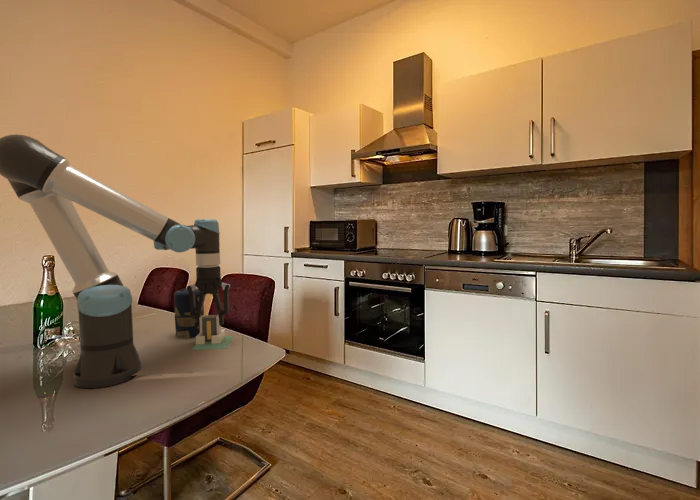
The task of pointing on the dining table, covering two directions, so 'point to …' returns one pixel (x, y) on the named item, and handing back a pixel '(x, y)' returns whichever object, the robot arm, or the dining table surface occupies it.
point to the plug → (209, 327)
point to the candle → (185, 314)
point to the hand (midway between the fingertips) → (210, 335)
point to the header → (215, 338)
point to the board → (209, 345)
